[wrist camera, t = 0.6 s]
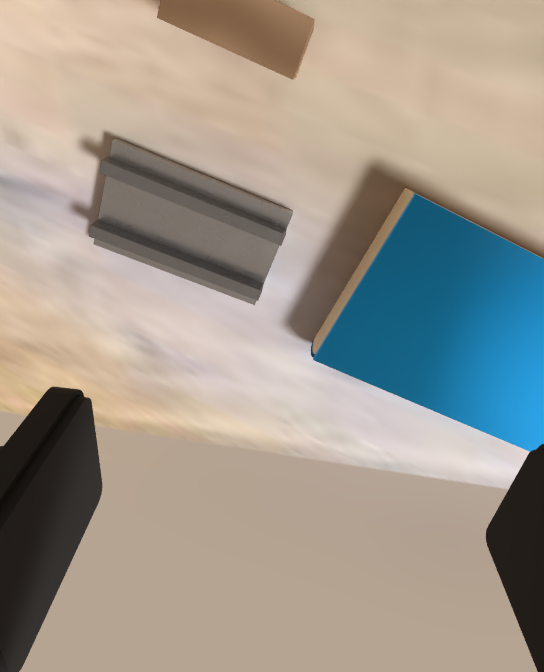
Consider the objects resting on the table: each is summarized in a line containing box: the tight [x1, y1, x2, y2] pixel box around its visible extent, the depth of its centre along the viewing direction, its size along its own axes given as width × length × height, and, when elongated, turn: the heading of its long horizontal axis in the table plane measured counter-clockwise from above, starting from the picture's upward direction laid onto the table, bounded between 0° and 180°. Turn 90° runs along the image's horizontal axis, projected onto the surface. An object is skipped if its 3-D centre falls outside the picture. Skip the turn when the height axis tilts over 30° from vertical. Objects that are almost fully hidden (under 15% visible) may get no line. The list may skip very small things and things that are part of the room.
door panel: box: [157, 0, 314, 79], centre depth 27 cm, size 3×8×8 cm, turn 68°
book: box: [311, 188, 544, 452], centre depth 40 cm, size 17×4×25 cm
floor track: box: [89, 138, 293, 305], centre depth 37 cm, size 15×9×2 cm, turn 69°
